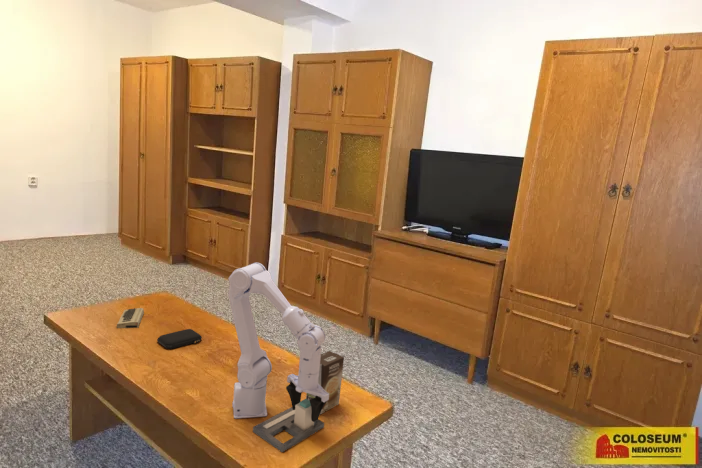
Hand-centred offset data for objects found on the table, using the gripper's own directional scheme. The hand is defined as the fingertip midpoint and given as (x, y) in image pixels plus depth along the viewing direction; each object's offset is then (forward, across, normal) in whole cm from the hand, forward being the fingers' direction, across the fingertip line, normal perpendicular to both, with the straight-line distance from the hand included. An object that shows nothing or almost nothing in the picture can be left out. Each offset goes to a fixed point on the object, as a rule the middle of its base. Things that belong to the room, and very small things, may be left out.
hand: (305, 414), depth 132 cm
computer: (+5, -100, -1) cm, 100 cm away
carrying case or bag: (+5, -70, +3) cm, 70 cm away
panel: (+4, -2, -4) cm, 6 cm away
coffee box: (+4, -4, +12) cm, 13 cm away
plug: (+4, 0, 0) cm, 4 cm away
